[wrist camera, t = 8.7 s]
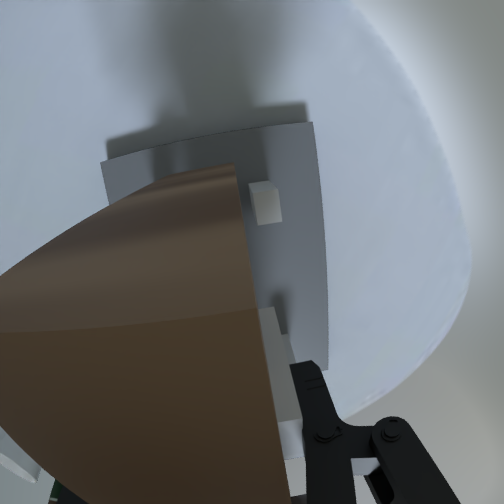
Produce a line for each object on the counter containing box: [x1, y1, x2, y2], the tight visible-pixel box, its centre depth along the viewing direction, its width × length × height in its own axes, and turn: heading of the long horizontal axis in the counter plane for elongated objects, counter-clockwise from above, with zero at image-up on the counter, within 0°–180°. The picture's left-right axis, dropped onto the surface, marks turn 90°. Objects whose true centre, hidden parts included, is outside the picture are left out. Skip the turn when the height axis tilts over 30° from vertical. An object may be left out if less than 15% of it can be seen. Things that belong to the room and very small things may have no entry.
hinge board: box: [100, 122, 328, 371], centre depth 18 cm, size 19×13×5 cm
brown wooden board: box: [0, 162, 307, 504], centre depth 10 cm, size 16×4×12 cm, turn 9°
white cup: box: [0, 426, 41, 483], centre depth 21 cm, size 8×8×10 cm
